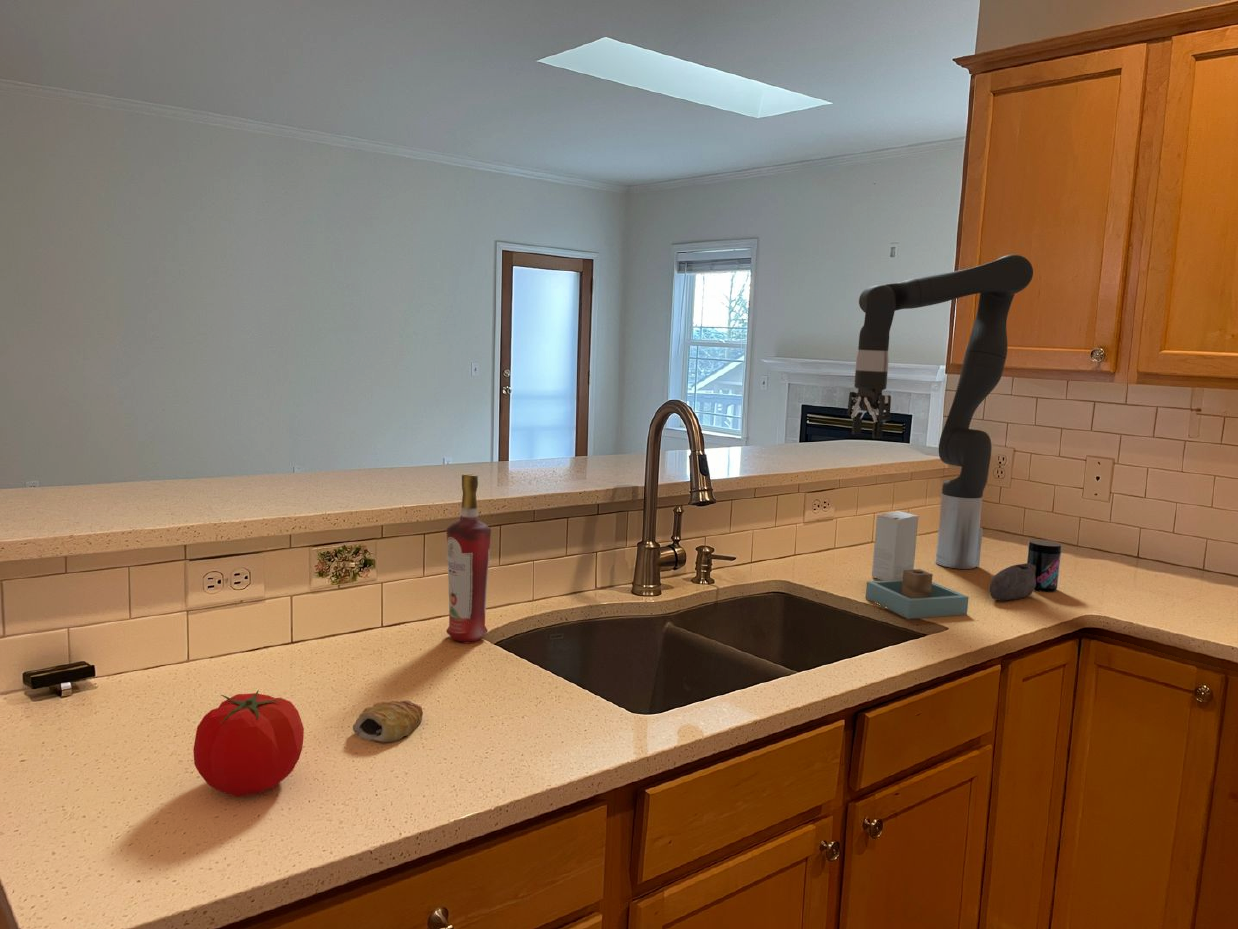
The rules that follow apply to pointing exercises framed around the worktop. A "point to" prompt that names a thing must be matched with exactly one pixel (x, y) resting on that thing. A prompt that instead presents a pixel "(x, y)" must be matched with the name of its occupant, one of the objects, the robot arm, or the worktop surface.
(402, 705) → the pastry
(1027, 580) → the perforated stone tool
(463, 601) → the liquor
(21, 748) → the worktop surface
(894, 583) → the tray
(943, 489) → the robot arm
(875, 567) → the skincare box
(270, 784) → the tomato
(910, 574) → the walnut block
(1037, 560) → the supplement container
